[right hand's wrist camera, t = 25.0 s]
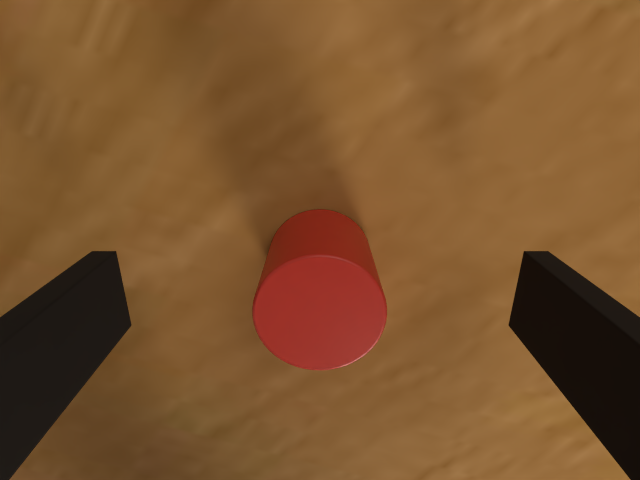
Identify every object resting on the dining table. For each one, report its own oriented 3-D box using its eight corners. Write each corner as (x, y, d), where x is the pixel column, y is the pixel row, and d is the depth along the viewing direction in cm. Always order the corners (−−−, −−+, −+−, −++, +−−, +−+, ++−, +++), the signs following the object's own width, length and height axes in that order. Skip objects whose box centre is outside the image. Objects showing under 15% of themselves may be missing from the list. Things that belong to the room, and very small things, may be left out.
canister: (252, 273, 15) (229, 338, 11) (299, 190, 14) (291, 230, 10) (337, 315, 16) (343, 389, 12) (389, 238, 15) (414, 294, 11)
